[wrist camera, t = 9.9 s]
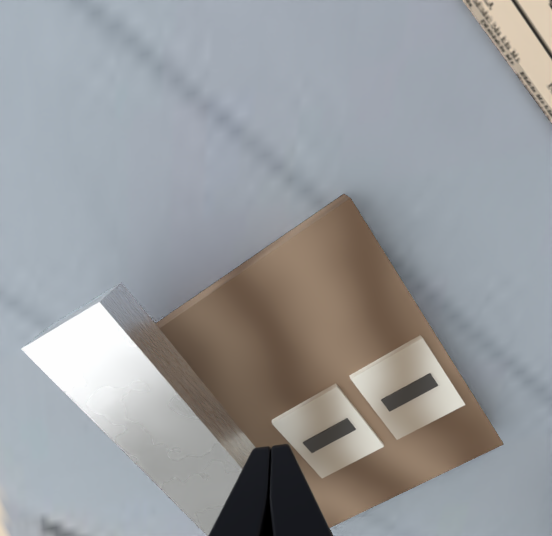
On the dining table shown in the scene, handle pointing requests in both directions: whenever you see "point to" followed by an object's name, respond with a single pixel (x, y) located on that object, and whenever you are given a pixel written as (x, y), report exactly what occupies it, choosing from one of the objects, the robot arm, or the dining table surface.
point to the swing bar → (146, 400)
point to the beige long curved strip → (522, 41)
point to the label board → (333, 365)
